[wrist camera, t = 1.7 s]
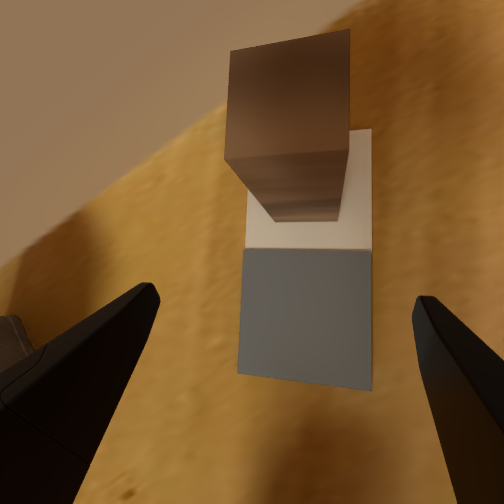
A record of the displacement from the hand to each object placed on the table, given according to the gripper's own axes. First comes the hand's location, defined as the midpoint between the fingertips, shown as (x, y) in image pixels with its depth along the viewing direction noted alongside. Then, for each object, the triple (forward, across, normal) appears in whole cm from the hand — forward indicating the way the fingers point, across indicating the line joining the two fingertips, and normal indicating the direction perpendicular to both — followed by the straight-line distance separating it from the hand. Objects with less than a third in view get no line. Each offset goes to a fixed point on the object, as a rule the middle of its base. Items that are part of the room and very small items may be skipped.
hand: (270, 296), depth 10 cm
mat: (+8, 0, +11) cm, 14 cm away
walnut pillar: (+15, 0, +3) cm, 15 cm away
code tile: (+15, 0, +4) cm, 16 cm away
